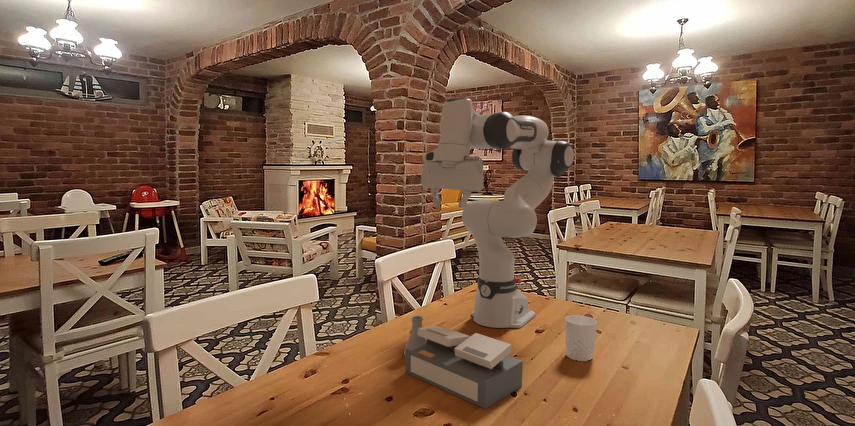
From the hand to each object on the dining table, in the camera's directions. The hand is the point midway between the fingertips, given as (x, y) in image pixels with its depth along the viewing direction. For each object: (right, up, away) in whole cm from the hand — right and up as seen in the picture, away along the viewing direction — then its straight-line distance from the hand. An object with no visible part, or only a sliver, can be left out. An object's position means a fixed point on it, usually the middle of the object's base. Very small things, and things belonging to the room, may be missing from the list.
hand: (449, 206), depth 128 cm
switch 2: (+7, -33, -24) cm, 42 cm away
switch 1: (-2, -32, -16) cm, 36 cm away
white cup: (+34, -40, -5) cm, 53 cm away
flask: (-9, -40, -4) cm, 41 cm away
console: (+2, -41, -19) cm, 45 cm away
